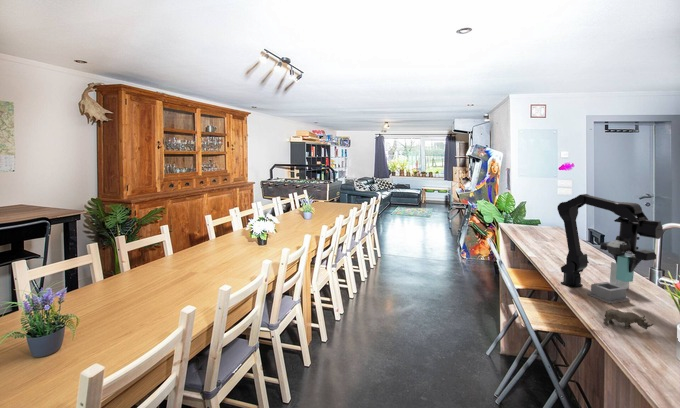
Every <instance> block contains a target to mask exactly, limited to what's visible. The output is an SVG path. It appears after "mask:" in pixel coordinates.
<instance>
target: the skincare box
mask: <svg viewBox="0 0 680 408" xmlns="http://www.w3.org/2000/svg"><path fill="white" fill-rule="evenodd" d="M616 271H617V264H616V261H614V260H613V261H611V262H610V275H609V283H612V284H615V285H618V286H621V287H624V288H627V289H630V282H623V281H620V280H617V279H616Z"/></svg>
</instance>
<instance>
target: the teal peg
mask: <svg viewBox="0 0 680 408" xmlns="http://www.w3.org/2000/svg"><path fill="white" fill-rule="evenodd" d="M628 257H631V256H630V255H626V254H625V255H622V256H618V259H617V271H616V279H617V280H620V281H623V282H629V283H631V282H634V274H635V273H634V272H635V269H634V270H633V271H632V272H631V273H630V272H629V262H630V260H629V259H628Z"/></svg>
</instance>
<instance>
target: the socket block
mask: <svg viewBox="0 0 680 408" xmlns="http://www.w3.org/2000/svg"><path fill="white" fill-rule="evenodd" d="M627 291H628V290H627V288H624V287H621V286H618V285H615V284H612V283H610V281H609V282H608V281H605V282H597V283H590V292H589V291H588V292H587V296H589V297H592V298H595V299H597V300H600V301H603V302H605V303H608V304H616V303H620V302H621V303H623V302H627V301H630V297H627Z"/></svg>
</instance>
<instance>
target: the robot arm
mask: <svg viewBox="0 0 680 408" xmlns="http://www.w3.org/2000/svg"><path fill="white" fill-rule="evenodd" d="M584 205H588V206H591V207H595V208H598V209H603V210H605V211H610V212H612V213H613V214H614V215H617V216H618V217H617V218H616V219H614V220H613V221H614V222H615V223H619V234H618V235H616V237H615V240H612V241H606V242H601V243H600V247H599V249H600V250H603V251H607V252H608V253H609V254H610V255H611V256H613V259H614V260H615V261H616V264H617V259H618V256H622V255H626V254H629V255H631V256H630V257H628V259H629V260H630V262H629V272H630V273H631V272H632V271H633V270H634V271H635V269H636V267H637V266H638V265H639V263H641V262H642V261H644V262H645V261H652V260H653V261H654V260H657V254H656V252H655V251H651V250H647V249H642V250H639V246H637V241H638V240H640V237H644V238H649V239H656V240H659V239H661V238H662V236H663V234H664V228H663V225H662V222H661V221H660V220H649V218H648V217H647V215H645V213H644V211H643V209H642V206H641V205H640V204H639V203H636V202H629V201H628V202H624V201H623V202H621V201H616V200H610V199H606V198H602V197H598V196H594V195H590V194H587V193H583V194H579V195H577V196H575V197H574V198H571V199H569V200H566V201H562V202H560V203H558V205H557V211H558V215H559V217H560V218H561V220H562V221H563V225H564V231H565V236H566V243H567V248H568V250H567V251H568V253H567V255H566V259H565V260H566V261H565V263H566V264H564V265H562V266H560V272H561V273H563V279H562V280H563V281H560V284H561V285H564V286H568V287H570V288H577V287H583V285H584V284H582V277H581V273H582V272H584V270H585V269H586V268H587V267H588V264H589V260H588V254H587V253H585V254H584V253H583V251H582V248H581V243H580V235H579V232H578V225H577V218H578V215H579V209H580V208H582V207H583V206H584ZM638 235H639V236H640V237H639V236H638Z"/></svg>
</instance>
